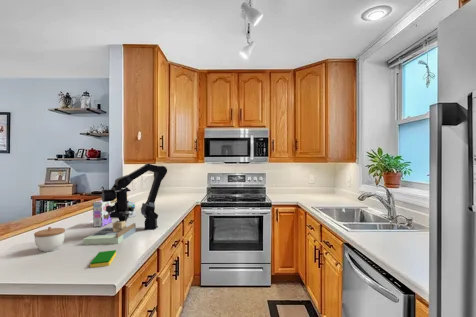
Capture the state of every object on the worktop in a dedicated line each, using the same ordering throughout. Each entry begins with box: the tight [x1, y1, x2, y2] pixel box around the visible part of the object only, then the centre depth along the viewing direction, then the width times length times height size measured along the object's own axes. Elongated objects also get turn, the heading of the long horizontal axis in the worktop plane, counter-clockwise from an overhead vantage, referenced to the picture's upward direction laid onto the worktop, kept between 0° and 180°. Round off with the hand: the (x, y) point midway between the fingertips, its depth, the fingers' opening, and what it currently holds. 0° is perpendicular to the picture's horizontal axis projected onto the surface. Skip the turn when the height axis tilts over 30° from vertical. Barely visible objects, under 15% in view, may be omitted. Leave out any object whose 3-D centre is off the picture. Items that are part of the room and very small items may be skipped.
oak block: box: [112, 220, 127, 232], centre depth 159 cm, size 5×5×5 cm
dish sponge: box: [89, 249, 117, 268], centre depth 121 cm, size 7×14×2 cm, turn 12°
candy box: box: [92, 199, 113, 228], centre depth 191 cm, size 14×6×16 cm, turn 179°
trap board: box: [83, 222, 137, 246], centre depth 157 cm, size 18×23×5 cm
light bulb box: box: [127, 201, 137, 219], centre depth 216 cm, size 11×7×11 cm, turn 65°
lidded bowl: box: [33, 226, 66, 253], centre depth 140 cm, size 13×13×11 cm
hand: (123, 226), depth 164 cm, fingers closed
